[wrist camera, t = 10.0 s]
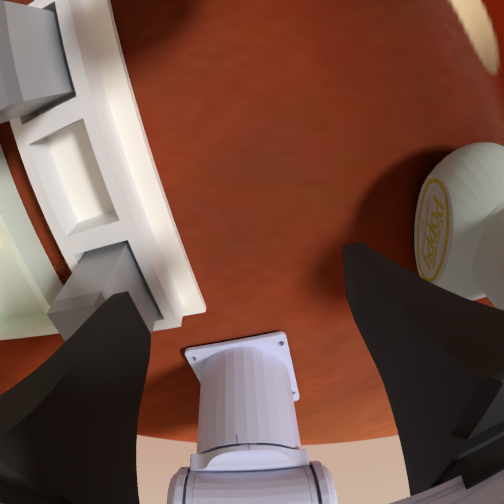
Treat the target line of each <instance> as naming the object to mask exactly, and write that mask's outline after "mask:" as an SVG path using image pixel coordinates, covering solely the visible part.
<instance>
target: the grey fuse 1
mask: <svg viewBox="0 0 504 504" xmlns="http://www.w3.org/2000/svg"><path fill="white" fill-rule="evenodd" d="M75 94H76V92H75V89H74V85H73V81H72V78H71V74H70V70H69V66H68V62H67V58H66V53H65V49H64V45H63V40H62V36H61V31H60V26H59V21H58V16H57V12H53V11H49V10H45V9H41V8H37V7H32V6H28V5H23V4H18V3H12V2H7V1H1V0H0V124H1V123H4V122H7V121H10V120H13V119H16V118H19V117H23V116H26V115H29V114H33V113H36V112H40V111H43V110H45V109H47V108H49V107H51V106H53V105H55V104H57V103H59V102H61V101H63V100H65V99H67V98H69V97H71V96H73V95H75Z"/></svg>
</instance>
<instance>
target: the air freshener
mask: <svg viewBox="0 0 504 504" xmlns="http://www.w3.org/2000/svg"><path fill="white" fill-rule="evenodd" d="M414 246H415V257H416V264H417V269H418V272H419V275H420V277H421V278H423V279H425V280H427V281H429V282H430V283H432V284H435V285H437V286H439V287H441V288H443V289H445V290H448V291H450V292H452V293H454V294H457V295H459V296H462V297H464V298H467V299H470V300H476V299H480V298H483V297H486V296H487V297H488V298H489V300H490V301H491V302H492V303H493V304H494V305H495V306H496V308H497V309H501V310H504V146H501V145H498V144H495V143H487V142H479V143H473V144H468V145H466V146H463V147H461V148H459V149H457V150H455V151H453V152H452V153H450V154H449V155H447V156H446V157H445V158H444V159H443V160H442V161H441V162H440V163H438V164H437V165H436V166H435V168H434V169H433V170H432V171H431V173H430V174H429V175H428V177H427V178H426V180H425V182H424V184H423V186H422V188H421V191H420V195H419V198H418V203H417V208H416V216H415V228H414Z"/></svg>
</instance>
